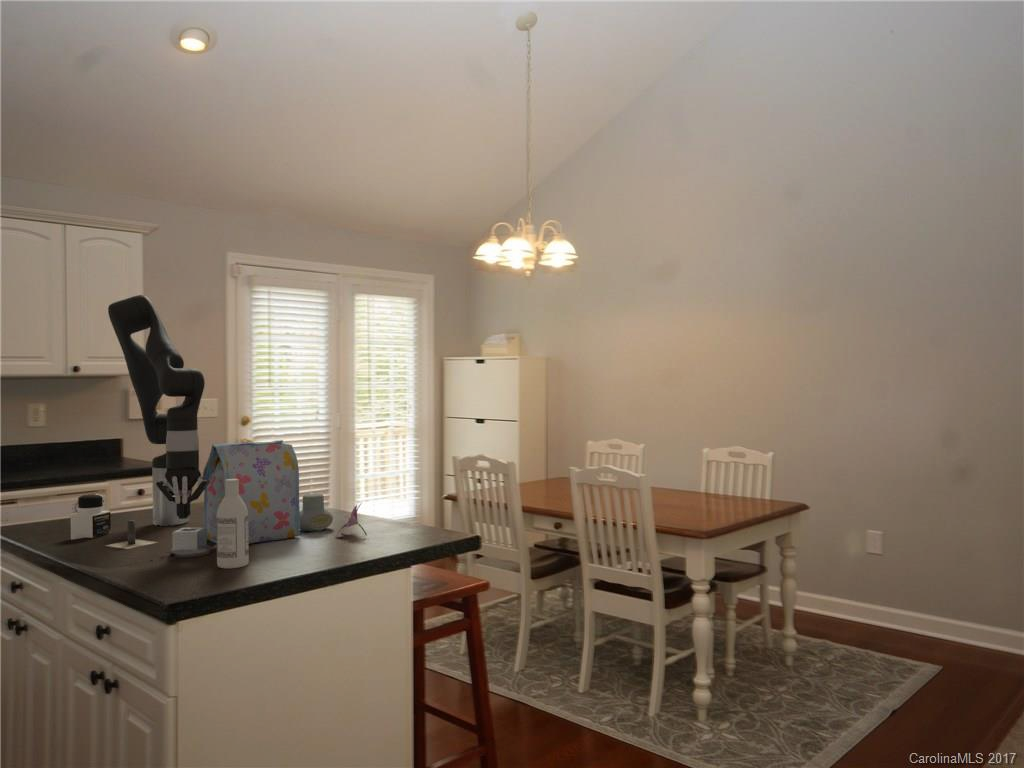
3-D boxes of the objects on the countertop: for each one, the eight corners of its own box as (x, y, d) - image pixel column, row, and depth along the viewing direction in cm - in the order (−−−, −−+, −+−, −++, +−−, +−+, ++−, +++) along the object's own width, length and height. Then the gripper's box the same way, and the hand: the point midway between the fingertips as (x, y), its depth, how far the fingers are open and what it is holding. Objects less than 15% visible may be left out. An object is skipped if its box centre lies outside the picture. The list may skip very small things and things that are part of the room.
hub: (193, 548, 206) (192, 529, 206) (217, 552, 201) (216, 532, 201) (162, 555, 198) (162, 535, 198) (186, 559, 193) (186, 538, 193)
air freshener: (302, 534, 223) (302, 498, 223) (289, 530, 230) (288, 495, 230) (337, 529, 231) (337, 494, 231) (323, 525, 237) (323, 491, 237)
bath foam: (238, 561, 191) (237, 477, 191) (254, 565, 187) (253, 479, 186) (211, 566, 186) (210, 480, 186) (227, 570, 181) (226, 482, 181)
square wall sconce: (182, 545, 202) (182, 527, 202) (206, 545, 203) (206, 527, 202) (172, 550, 196) (172, 532, 196) (197, 550, 197) (197, 531, 196)
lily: (358, 533, 230) (340, 505, 229) (388, 520, 225) (370, 491, 224) (335, 554, 219) (317, 524, 218) (366, 541, 214) (348, 510, 213)
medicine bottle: (93, 541, 217) (92, 496, 217) (70, 540, 219) (69, 496, 218) (111, 536, 224) (110, 493, 224) (89, 535, 226) (88, 492, 225)
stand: (136, 543, 214) (136, 516, 214) (158, 546, 209) (157, 519, 209) (104, 549, 206) (104, 522, 206) (126, 552, 202) (126, 524, 202)
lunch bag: (275, 530, 231) (274, 437, 231) (305, 537, 219) (304, 440, 219) (198, 541, 215) (196, 442, 215) (226, 550, 203) (225, 446, 203)
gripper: (214, 447, 203) (215, 515, 203) (162, 447, 203) (163, 516, 203) (203, 449, 196) (204, 520, 196) (149, 450, 196) (150, 521, 196)
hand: (183, 518), depth 199 cm, fingers closed
